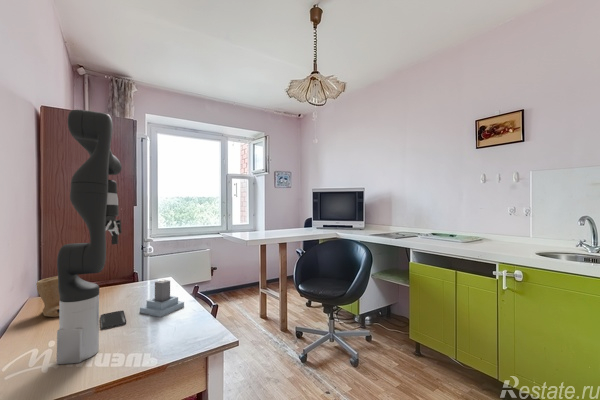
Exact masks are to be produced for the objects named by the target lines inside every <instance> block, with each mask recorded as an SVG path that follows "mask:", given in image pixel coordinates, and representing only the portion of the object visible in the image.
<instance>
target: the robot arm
mask: <svg viewBox="0 0 600 400" xmlns="http://www.w3.org/2000/svg"><path fill="white" fill-rule="evenodd" d="M113 127H114V126H113V120H112V117H111V115H110V114H108V113H105V112H101V111H95V110H93V111H92V110H86V109H85V110H84V109H72V110H71V111H69V113H68V115H67V128H68V131H69V133H70V135H71V136H72V138H73V139H74V140H75V141H77V142H78V144H80V146H81V147H82V148H83V149H85V150H86V151H87V153H88V155H89V158H87V160H86V161H85V162H84V163H83V164H82V165H80V166H79V168H78V169H77V170H76V171H75V172H74V174H73V175H72V177H71V180H70V193H69V199H70V200H69V201H70V202H71V204H72V206H73V207H74V209H75V211H76V212H77V213H78V215H79V216H80V217H81V219H82V220H83V222H84V223H85V225H86V227H87V229H88V233H89V240H90V241H89V242H82V243H81V242H80V243H79V242H77V243H76V242H75V243H66V244H64V245H62V246H61V248H60V249H59V250H58V252H57V257H56V258H57V259H56V267H57V269H56V270H57V276H58V291H59V295H60V308H59V316H58V317H59V318H58V323H59V324H58V329H57V331H56V365H64V364H65V365H66V364H80V363H82V362H83V361H85V360H87V359H89V358H91V357H94V356H95V355H96V354H97V353H99V351H100V350H99V349H100V348H99V347H100V285H98V284H97V283H95V282H91V281H87V280H84V279H82V278H81V277H80V276H79V275H88V274H90V275H91V274H98V273H101V272H102V271H103V269H104V267H105V264H106V260H107V243H106V242H107V241H106V240H107V239H106V238H107V237H106V233H107V231H108V232H109V233H110V234H111V245H118V244H119V235H120V234H122V233H123V231H122V221H121V219H116V217H119V213H120V212H119V197H118V184H117V183H118V182H116V180H113V179H109V176H116V175H119V174H121V171H122V170H123V169H122V166H123V165H122V163H121V161H120V160H119V159H118V157H117V156H116V155H114V154H113V151H112V149H111V146H112V138H113V131H114V130H113Z"/></svg>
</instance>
